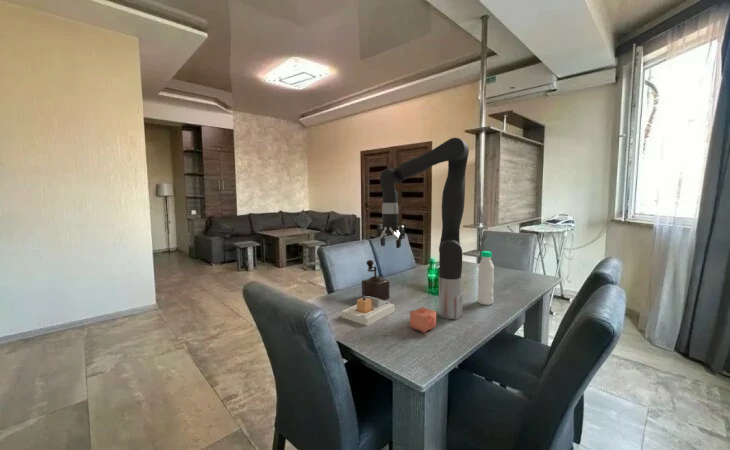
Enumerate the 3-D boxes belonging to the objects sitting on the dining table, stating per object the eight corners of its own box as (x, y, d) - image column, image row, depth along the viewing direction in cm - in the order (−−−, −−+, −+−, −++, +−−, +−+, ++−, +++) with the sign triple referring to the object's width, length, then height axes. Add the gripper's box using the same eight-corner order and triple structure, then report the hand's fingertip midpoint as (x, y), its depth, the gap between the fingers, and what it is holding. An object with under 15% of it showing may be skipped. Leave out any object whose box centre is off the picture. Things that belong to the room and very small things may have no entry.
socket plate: (394, 311, 147) (394, 303, 147) (367, 325, 131) (366, 316, 131) (370, 304, 156) (370, 297, 155) (341, 317, 140) (341, 309, 140)
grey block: (386, 303, 148) (386, 295, 148) (377, 308, 143) (377, 299, 142) (374, 300, 152) (374, 292, 152) (365, 304, 147) (365, 296, 147)
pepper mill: (391, 298, 165) (390, 263, 163) (375, 303, 158) (374, 267, 156) (370, 291, 177) (370, 258, 175) (355, 295, 169) (354, 262, 168)
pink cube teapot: (416, 321, 135) (416, 302, 134) (440, 330, 126) (440, 309, 125) (403, 327, 130) (403, 307, 129) (428, 336, 121) (428, 315, 120)
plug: (371, 314, 142) (371, 295, 141) (365, 317, 138) (364, 298, 137) (363, 312, 144) (363, 293, 143) (357, 315, 141) (356, 296, 140)
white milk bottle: (476, 304, 154) (477, 252, 152) (478, 299, 161) (479, 249, 158) (492, 306, 151) (493, 253, 149) (493, 301, 157) (495, 250, 155)
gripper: (373, 212, 152) (373, 246, 154) (398, 213, 143) (399, 249, 145) (382, 211, 158) (382, 244, 160) (407, 212, 149) (407, 247, 151)
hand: (390, 246), depth 152 cm, fingers open, 8 cm apart
